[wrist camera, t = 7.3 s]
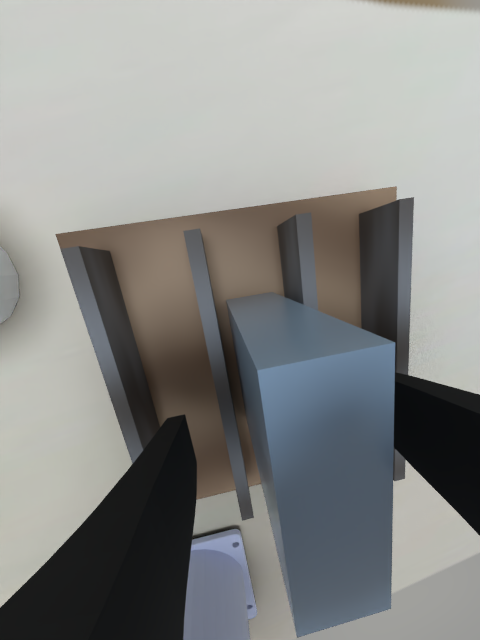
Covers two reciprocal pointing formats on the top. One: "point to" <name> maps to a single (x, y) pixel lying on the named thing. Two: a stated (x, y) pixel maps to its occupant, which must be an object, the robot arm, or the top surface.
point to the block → (321, 453)
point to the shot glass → (7, 286)
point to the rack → (212, 314)
